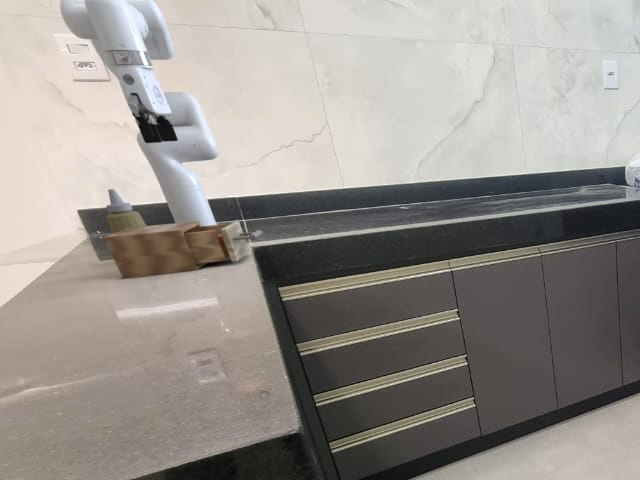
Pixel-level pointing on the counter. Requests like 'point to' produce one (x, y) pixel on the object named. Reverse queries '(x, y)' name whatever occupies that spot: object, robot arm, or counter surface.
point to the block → (223, 244)
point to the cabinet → (152, 249)
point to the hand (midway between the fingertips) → (162, 141)
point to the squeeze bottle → (121, 214)
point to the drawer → (218, 242)
